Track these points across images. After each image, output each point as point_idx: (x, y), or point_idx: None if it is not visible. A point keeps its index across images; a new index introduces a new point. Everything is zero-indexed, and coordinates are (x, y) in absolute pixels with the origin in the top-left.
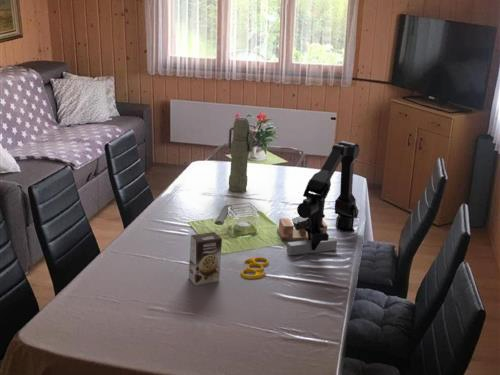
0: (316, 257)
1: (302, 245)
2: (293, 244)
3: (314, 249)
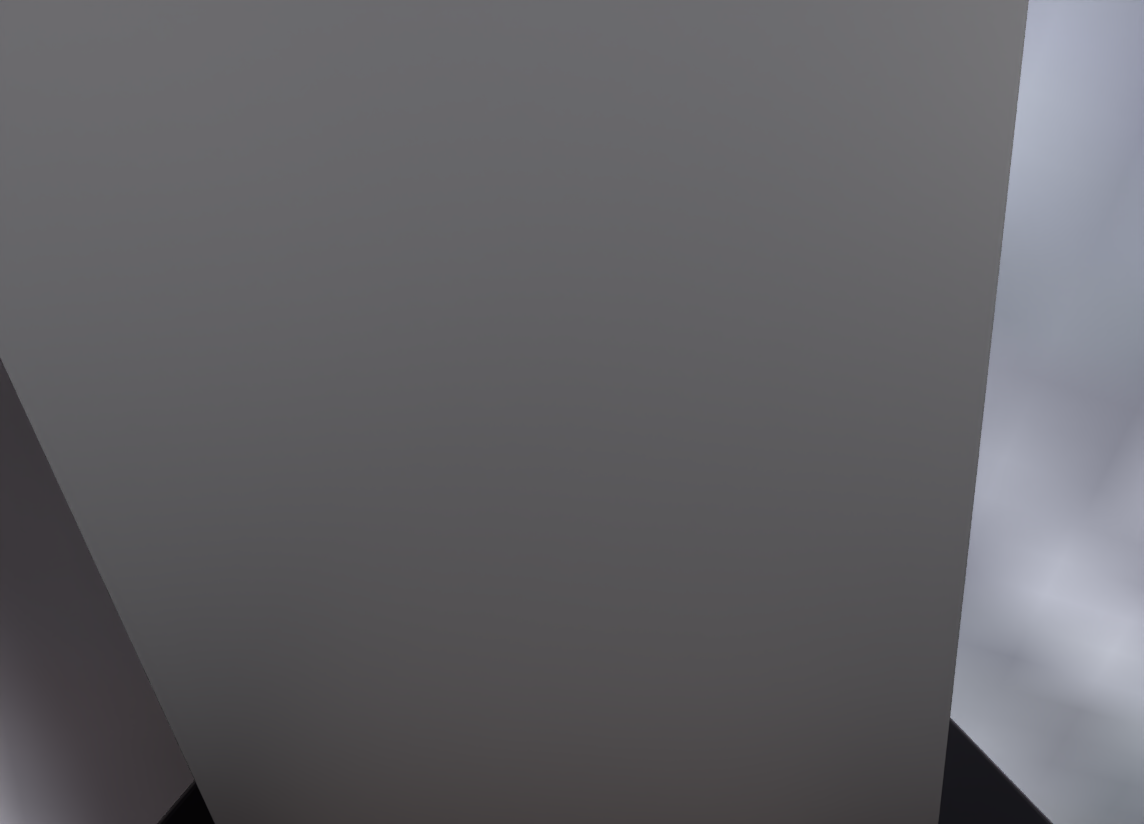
0: (49, 564)
1: (13, 179)
2: None
3: None
